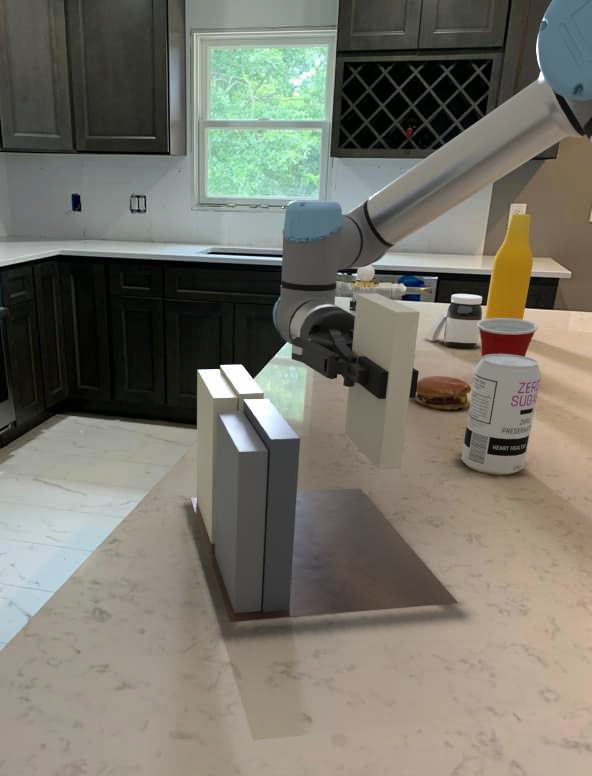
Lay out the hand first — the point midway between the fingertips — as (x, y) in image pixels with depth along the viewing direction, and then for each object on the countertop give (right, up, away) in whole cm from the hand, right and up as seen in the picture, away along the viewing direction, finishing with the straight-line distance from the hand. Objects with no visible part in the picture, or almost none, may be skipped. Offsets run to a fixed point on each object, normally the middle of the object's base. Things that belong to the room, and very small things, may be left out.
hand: (398, 384), depth 72 cm
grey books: (-15, -19, -3) cm, 24 cm away
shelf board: (-9, -17, +5) cm, 20 cm away
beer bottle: (+52, +28, +115) cm, 129 cm away
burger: (+21, +4, +57) cm, 60 cm away
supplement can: (+20, -8, +29) cm, 36 cm away
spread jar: (+36, +23, +102) cm, 111 cm away
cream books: (-17, -14, +8) cm, 24 cm away
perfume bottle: (+11, +17, +87) cm, 89 cm away
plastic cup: (+35, +9, +70) cm, 78 cm away
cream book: (-1, -6, +8) cm, 10 cm away
